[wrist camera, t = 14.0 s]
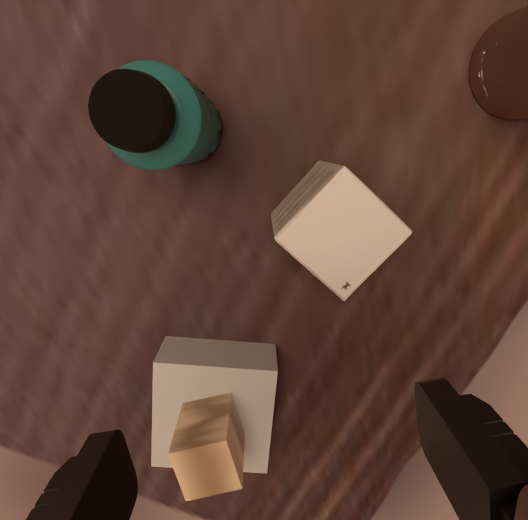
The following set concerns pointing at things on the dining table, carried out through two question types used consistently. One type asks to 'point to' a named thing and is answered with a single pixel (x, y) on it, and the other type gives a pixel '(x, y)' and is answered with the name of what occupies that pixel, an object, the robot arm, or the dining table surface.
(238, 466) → the birch block
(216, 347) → the flat white box
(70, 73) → the dining table surface
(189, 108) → the beverage bottle
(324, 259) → the supplement box
